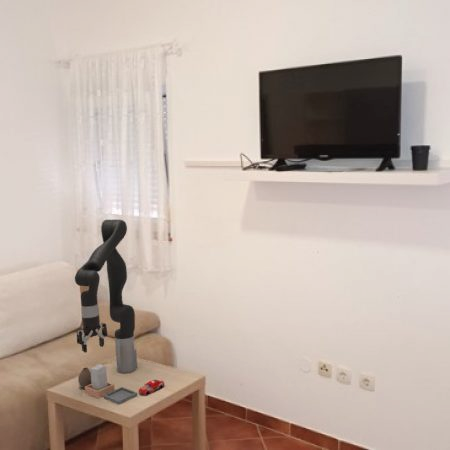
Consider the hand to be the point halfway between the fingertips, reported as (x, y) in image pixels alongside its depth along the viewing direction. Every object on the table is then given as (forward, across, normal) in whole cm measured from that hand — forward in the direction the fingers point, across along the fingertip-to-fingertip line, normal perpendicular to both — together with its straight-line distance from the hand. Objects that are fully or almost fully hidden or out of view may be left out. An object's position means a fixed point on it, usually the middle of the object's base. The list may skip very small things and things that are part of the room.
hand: (93, 349), depth 253 cm
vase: (+21, 0, -9) cm, 23 cm away
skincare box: (+21, -1, +1) cm, 21 cm away
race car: (+21, -17, +18) cm, 32 cm away
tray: (+20, -4, +13) cm, 24 cm away
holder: (+20, -1, +1) cm, 20 cm away
